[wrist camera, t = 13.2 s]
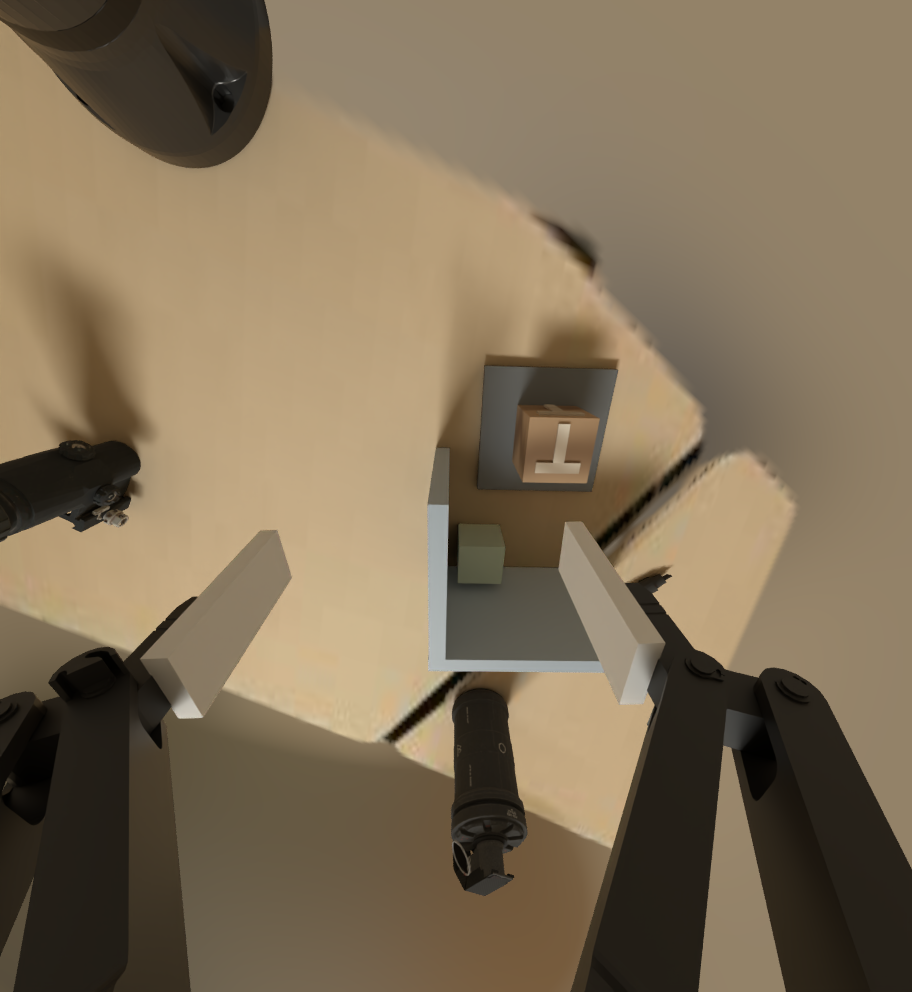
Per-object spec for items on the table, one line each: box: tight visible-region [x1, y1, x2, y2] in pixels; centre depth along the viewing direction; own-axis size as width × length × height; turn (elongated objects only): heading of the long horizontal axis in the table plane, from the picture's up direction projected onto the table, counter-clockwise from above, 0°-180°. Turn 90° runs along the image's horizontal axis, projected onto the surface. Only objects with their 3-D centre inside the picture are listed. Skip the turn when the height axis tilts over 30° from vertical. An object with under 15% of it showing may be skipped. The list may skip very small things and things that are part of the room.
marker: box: [638, 574, 672, 593], centre depth 45 cm, size 15×2×2 cm, turn 128°
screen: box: [428, 448, 605, 673], centre depth 34 cm, size 17×23×14 cm
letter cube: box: [512, 404, 600, 483], centre depth 32 cm, size 6×6×6 cm
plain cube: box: [457, 524, 505, 584], centre depth 40 cm, size 5×5×5 cm
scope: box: [0, 440, 141, 542], centre depth 31 cm, size 8×14×10 cm
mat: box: [477, 365, 618, 492], centre depth 36 cm, size 13×13×1 cm
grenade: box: [451, 689, 527, 896], centre depth 46 cm, size 9×11×20 cm
